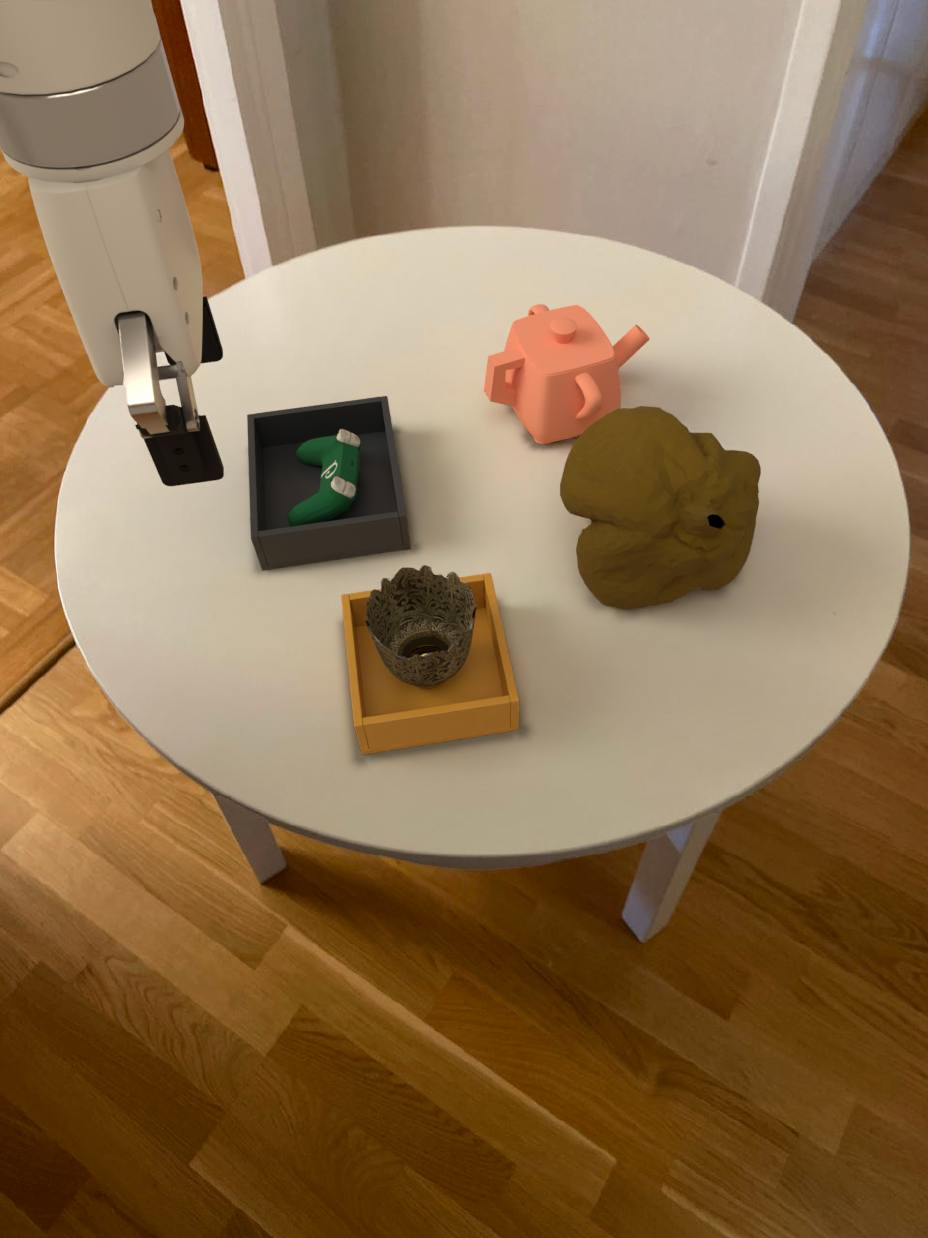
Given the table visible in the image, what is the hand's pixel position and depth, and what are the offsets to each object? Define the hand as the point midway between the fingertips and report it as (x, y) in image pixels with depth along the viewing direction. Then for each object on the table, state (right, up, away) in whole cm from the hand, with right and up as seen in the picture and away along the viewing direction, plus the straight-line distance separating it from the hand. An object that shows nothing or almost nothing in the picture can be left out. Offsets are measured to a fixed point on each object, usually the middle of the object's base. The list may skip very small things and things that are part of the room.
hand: (196, 416), depth 52 cm
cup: (+12, -15, +17) cm, 26 cm away
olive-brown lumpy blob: (+30, -8, +22) cm, 38 cm away
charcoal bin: (+4, -1, +28) cm, 28 cm away
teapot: (+24, +7, +33) cm, 42 cm away
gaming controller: (+3, -1, +28) cm, 28 cm away
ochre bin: (+12, -16, +17) cm, 26 cm away
